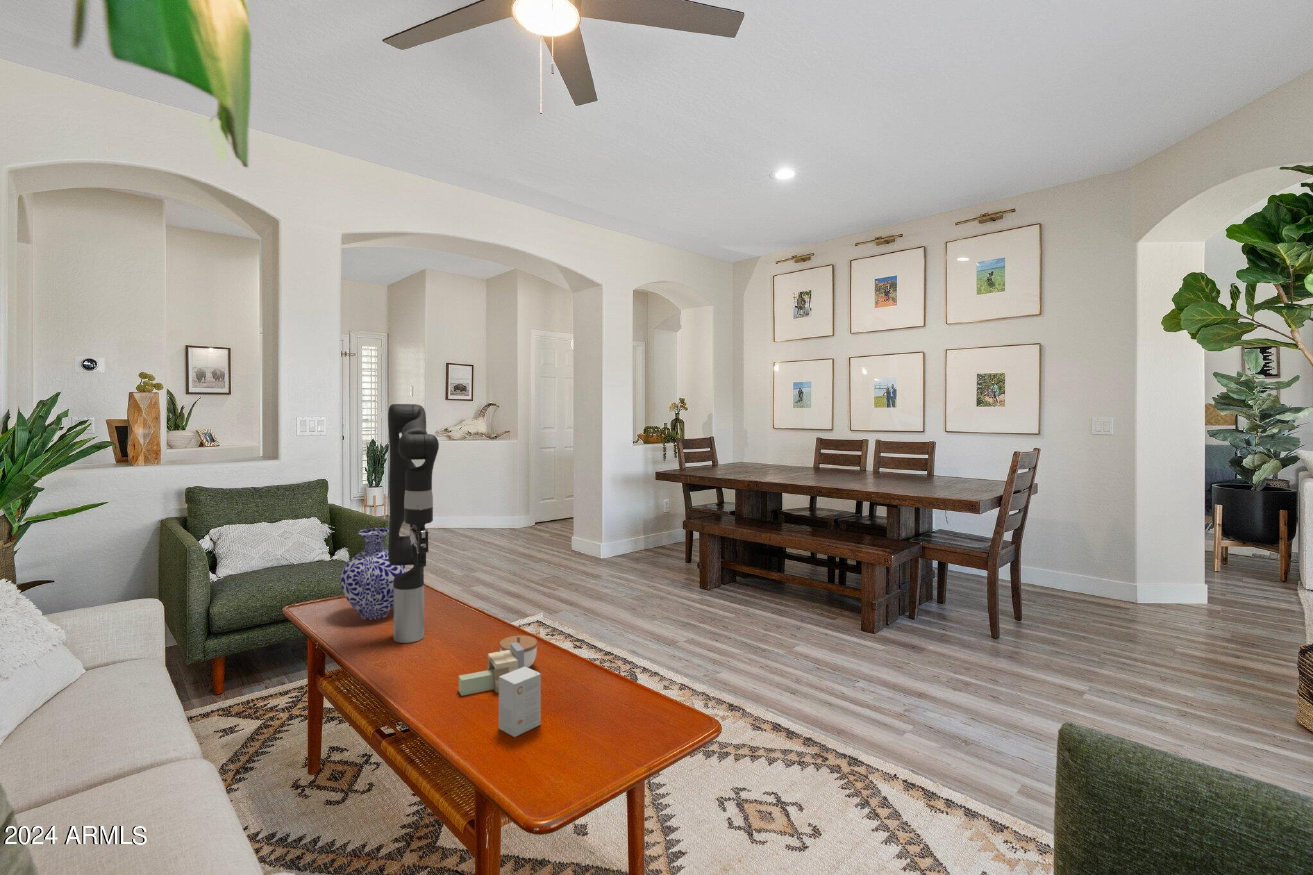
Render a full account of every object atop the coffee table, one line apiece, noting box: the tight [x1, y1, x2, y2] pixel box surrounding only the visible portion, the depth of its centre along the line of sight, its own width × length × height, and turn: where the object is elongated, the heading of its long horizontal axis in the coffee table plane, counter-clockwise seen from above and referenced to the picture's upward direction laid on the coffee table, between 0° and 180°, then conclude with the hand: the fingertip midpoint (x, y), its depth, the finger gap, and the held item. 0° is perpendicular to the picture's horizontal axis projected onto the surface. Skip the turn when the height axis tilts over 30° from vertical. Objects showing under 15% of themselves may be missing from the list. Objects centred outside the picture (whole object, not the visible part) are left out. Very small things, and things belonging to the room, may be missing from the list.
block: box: [487, 650, 518, 694], centre depth 181 cm, size 8×6×8 cm
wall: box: [510, 642, 524, 669], centre depth 183 cm, size 6×2×10 cm, turn 30°
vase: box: [340, 527, 408, 621], centre depth 232 cm, size 22×22×30 cm
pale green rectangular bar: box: [458, 669, 494, 696], centre depth 178 cm, size 3×12×4 cm, turn 119°
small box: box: [498, 667, 542, 738], centre depth 159 cm, size 8×6×13 cm
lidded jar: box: [499, 635, 538, 668], centre depth 192 cm, size 11×11×9 cm
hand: (418, 562), depth 185 cm, fingers open, 8 cm apart
